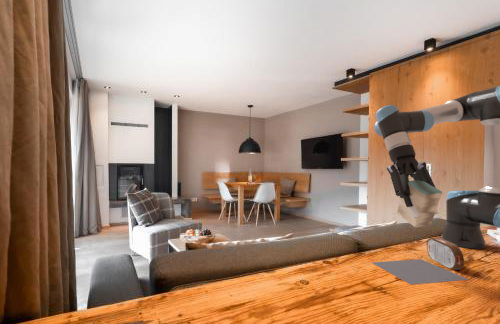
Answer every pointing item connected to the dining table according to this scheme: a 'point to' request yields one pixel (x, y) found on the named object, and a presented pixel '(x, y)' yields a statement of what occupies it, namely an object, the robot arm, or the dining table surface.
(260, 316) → the dining table surface
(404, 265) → the mat
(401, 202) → the block
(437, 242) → the tin
